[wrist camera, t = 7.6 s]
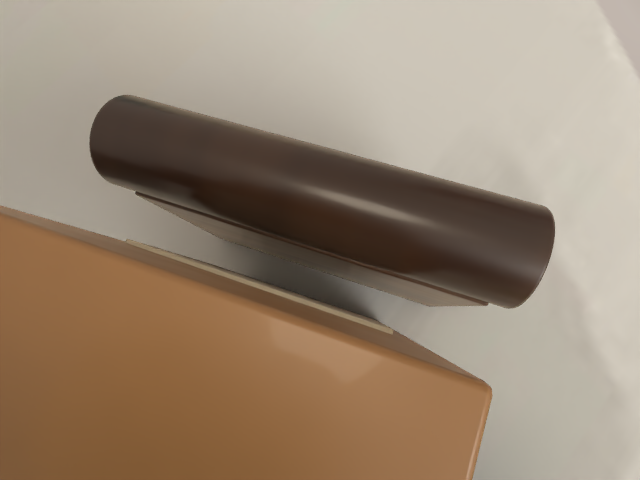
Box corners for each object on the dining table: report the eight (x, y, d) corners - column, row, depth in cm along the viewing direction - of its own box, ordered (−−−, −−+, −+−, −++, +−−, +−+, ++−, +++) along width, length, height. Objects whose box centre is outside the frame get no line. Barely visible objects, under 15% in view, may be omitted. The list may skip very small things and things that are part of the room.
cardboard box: (352, 416, 14) (344, 1040, 2) (212, 362, 15) (-342, 578, 3) (381, 320, 15) (501, 376, 3) (245, 274, 16) (-112, 164, 4)
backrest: (435, 308, 15) (540, 309, 6) (216, 237, 16) (72, 164, 8) (449, 255, 15) (566, 192, 7) (234, 190, 17) (114, 73, 8)
